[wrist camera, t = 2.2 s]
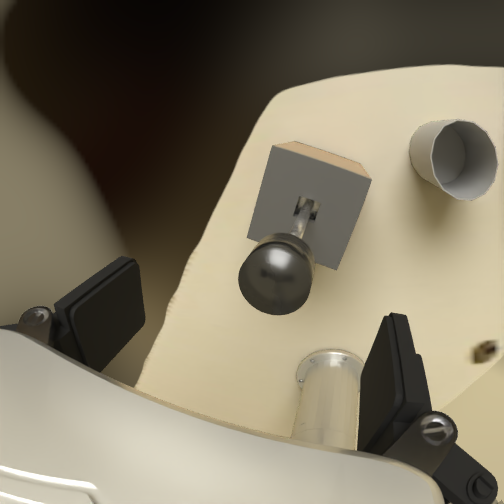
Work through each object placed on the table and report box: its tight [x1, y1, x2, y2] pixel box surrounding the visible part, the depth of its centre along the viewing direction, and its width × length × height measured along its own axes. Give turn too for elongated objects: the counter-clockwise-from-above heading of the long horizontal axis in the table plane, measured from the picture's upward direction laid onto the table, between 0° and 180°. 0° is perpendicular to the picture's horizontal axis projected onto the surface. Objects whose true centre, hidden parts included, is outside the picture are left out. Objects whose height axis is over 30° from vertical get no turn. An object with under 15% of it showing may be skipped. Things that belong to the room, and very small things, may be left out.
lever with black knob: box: [238, 196, 321, 315], centre depth 22 cm, size 6×6×17 cm
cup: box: [409, 119, 498, 201], centre depth 28 cm, size 8×8×10 cm
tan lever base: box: [247, 141, 372, 270], centre depth 33 cm, size 12×9×14 cm
